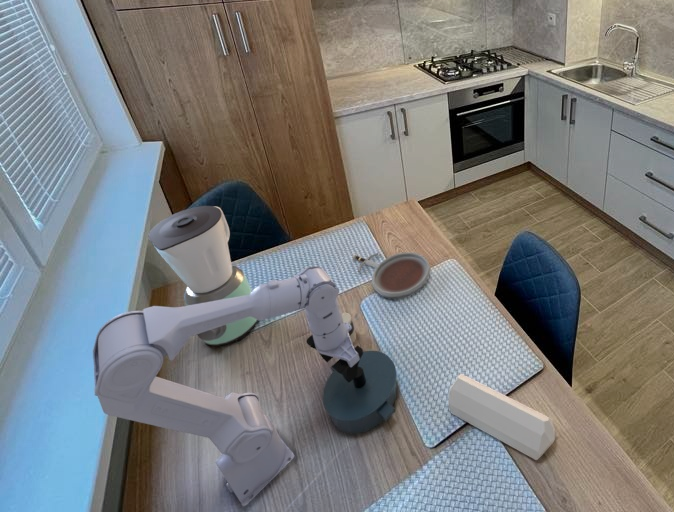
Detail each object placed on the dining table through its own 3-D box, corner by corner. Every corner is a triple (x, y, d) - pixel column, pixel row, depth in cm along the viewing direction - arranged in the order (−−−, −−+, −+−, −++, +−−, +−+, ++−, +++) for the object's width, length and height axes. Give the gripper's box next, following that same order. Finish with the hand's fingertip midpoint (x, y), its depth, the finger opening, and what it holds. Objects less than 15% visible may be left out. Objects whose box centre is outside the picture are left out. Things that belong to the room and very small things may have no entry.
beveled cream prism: (564, 409, 82) (464, 361, 92) (554, 429, 76) (447, 375, 85) (557, 445, 82) (458, 393, 92) (546, 469, 75) (440, 410, 85)
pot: (366, 459, 78) (360, 443, 76) (312, 401, 88) (305, 385, 86) (418, 399, 88) (415, 383, 86) (364, 353, 98) (360, 338, 96)
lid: (352, 440, 77) (347, 426, 75) (309, 395, 85) (304, 381, 83) (411, 377, 88) (408, 363, 86) (368, 342, 96) (364, 329, 94)
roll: (345, 352, 99) (338, 331, 96) (334, 342, 101) (327, 322, 98) (360, 338, 102) (354, 317, 99) (349, 329, 105) (344, 309, 101)
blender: (246, 353, 99) (195, 242, 84) (187, 360, 98) (124, 249, 83) (276, 292, 116) (238, 191, 101) (226, 298, 115) (180, 196, 100)
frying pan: (372, 236, 134) (441, 260, 122) (373, 243, 135) (442, 267, 123) (330, 271, 120) (404, 302, 108) (333, 278, 121) (406, 309, 110)
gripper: (367, 326, 78) (378, 371, 84) (324, 292, 85) (337, 336, 91) (334, 354, 73) (349, 400, 78) (291, 315, 80) (308, 360, 86)
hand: (341, 367), depth 84 cm, fingers open, 7 cm apart
